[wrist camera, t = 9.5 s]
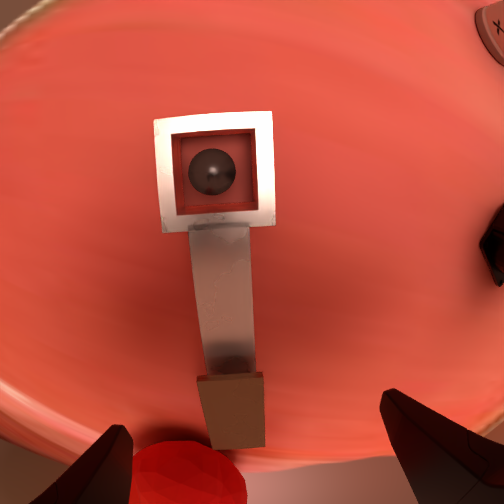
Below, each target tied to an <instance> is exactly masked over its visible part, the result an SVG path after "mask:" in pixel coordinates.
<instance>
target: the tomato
mask: <svg viewBox="0 0 504 504" xmlns="http://www.w3.org/2000/svg"><path fill="white" fill-rule="evenodd" d="M129 504H247V490H246V484H245V480H244V478H243V476H242V475H241V473H240V472H239V470H238V469H237V468H236V467H235V466H234V465H233V463H232V462H231V461H230V460H229V459H228V458H227V457H226V456H225V455H223V454H222V453H220V452H219V451H216V450H213V449H212V448H209V447H207V446H205V445H203V444H200V443H198V442H196V441H164V442H161V443H157V444H154V445H151V446H148V447H146V448H144V449H142V450H141V451H139V452H138V453H137V454H136V455H134V456H133V465H132V483H131V490H130V497H129Z"/></svg>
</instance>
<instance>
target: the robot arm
mask: <svg viewBox="0 0 504 504" xmlns="http://www.w3.org/2000/svg"><path fill="white" fill-rule="evenodd" d="M480 248H481V250H482V253H483V255H484V257H485V259H486V262H487V264H488V266H489V269H490V271H491V274H492V276H493V279H494V281H495V284H496V285H497V286H498V287H501V286H502V284H503V283H504V206H503V208H502V209H501V211H500V213H499V214H498V216H497V217H496V219H495V221H494V222H493V224H492V225H491V227H490V228H489V230H488V231H487V233H486V234H485V236H484V237H483V239H482V240H481V242H480ZM380 413H381V416H382V419H383V422H384V425H385V428H386V431H387V434H388V437H389V440H390V442H391V445H392V447H393V450H394V452H395V454H396V456H397V458H398V460H399V462H400V464H401V466H402V468H403V471H404V472H405V475H406V477H407V479H408V481H409V483H410V486H411V488H412V490H413V492H414V494H415V496H416V499H417V501H418V503H419V504H504V445H502V444H499V443H496V442H494V441H492V440H489V439H487V438H484V437H482V436H480V435H478V434H476V433H474V432H472V431H470V430H467V428H465V427H463V426H461V425H459V424H457V423H455V422H454V421H452V420H450V419H448V418H446V417H444V416H443V415H441V414H439V413H437V412H435V411H434V410H432V409H430V408H428V407H426V406H425V405H423V404H421V403H419V402H418V401H416V400H414V399H412V398H411V397H409V396H407V395H405V394H404V393H402V392H400V391H399V390H397V389H394V388H392V389H389V390H386V391H384V392H383V394H382V398H381V402H380ZM132 465H133V440H132V437H131V436H130V434H129V433H128V431H127V429H126V428H125V426H123V425H116V424H114V425H112V426H111V427H110V428H109V429H108V430H107V431H106V432H105V433H104V434H103V435H102V436H101V437H100V438H99V439H98V440H97V441H96V442H95V443H94V444H93V445H92V446H91V447H89V448H88V449H87V450H86V451H85V452H84V453H83V454H82V455H81V456H80V457H79V458H78V459H77V460H76V461H75V462H74V463H73V464H72V465H71V466H70V467H69V468H68V469H67V470H66V471H65V472H64V473H63V474H62V475H61V476H60V477H59V478H58V479H57V480H56V482H54V483H53V484H52V485H50V486H49V487H48V488H47V489H46V490H45V491H44V492H43V493H42V494H40V495H39V496H38V497H37V498H35V499H34V500H33V501H32V502H30V503H29V504H129V497H130V490H131V483H132Z"/></svg>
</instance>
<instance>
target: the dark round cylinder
mask: <svg viewBox="0 0 504 504" xmlns="http://www.w3.org/2000/svg"><path fill="white" fill-rule="evenodd" d="M188 174H189V179H190V182H191V184H192V185H193V187H194V188H195V189H196V190H197V191H199V192H201V193H203V194H206V195H218V194H221V193H223V192H225V191H226V190H227V189H228V188H229V187H230V186H231V185H232V183H233V181H234V179H235V174H236V169H235V164H234V162H233V160H232V158H231V157H230V156H229V155H228V154H227V153H226V152H224V151H222V150H219V149H206V150H203V151H201V152H199V153H198V154H197V155H196V156H195V157H194V158H193V159H192V161H191V163H190V165H189V170H188Z"/></svg>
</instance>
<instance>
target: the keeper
mask: <svg viewBox="0 0 504 504" xmlns="http://www.w3.org/2000/svg"><path fill="white" fill-rule="evenodd" d="M197 386H198V390H199V395H200V399H201V404H202V408H203V413H204V417H205V421H206V425H207V429H208V433H209V437H210V441H211V445H212V449H213V450H228V449H245V448H257V447H265V416H264V381H263V373H262V372H252V373H240V374H225V375H204V376H197Z"/></svg>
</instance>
